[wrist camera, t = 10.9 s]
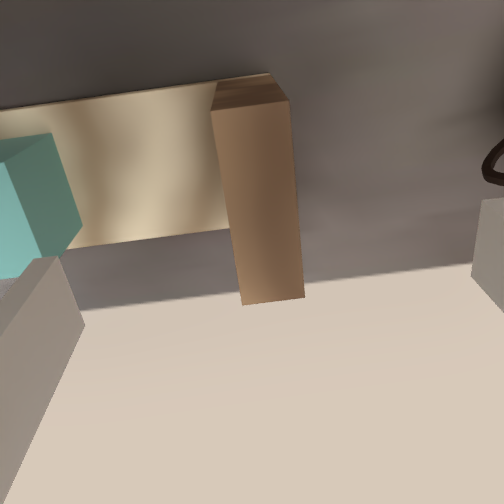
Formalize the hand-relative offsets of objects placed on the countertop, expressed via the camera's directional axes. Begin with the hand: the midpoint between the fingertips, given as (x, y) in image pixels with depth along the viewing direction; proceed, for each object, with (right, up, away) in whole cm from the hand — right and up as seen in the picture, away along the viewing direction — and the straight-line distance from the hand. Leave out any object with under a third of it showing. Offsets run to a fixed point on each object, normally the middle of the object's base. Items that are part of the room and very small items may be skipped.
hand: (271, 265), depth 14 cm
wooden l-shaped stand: (-11, +5, +14) cm, 18 cm away
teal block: (-15, +4, +13) cm, 20 cm away
